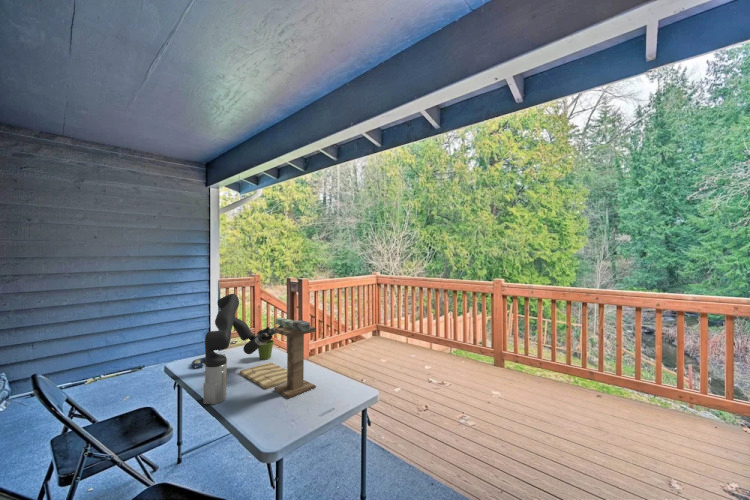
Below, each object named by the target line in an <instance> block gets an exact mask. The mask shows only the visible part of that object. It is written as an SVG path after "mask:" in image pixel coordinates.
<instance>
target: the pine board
mask: <svg viewBox="0 0 750 500" xmlns="http://www.w3.org/2000/svg"><path fill="white" fill-rule="evenodd" d="M239 374H240V375H242V376H244V377H245V378H246V379H249V380H250V381H251V382H254V383H255V384H257V385H259V386H260V387H262V388H264V389H265V390H269V389H271V388H274V387H277V386H280V385H283V384H286V383H287V368H284V367H283V366H280V365H277V364H276V363H273V362H271V361H270V362H267V363H264V364H260V365H257V366H253V367H248V368H246V369H243V370H239Z"/></svg>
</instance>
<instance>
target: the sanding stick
mask: <svg viewBox="0 0 750 500" xmlns="http://www.w3.org/2000/svg"><path fill="white" fill-rule="evenodd" d="M275 325H277V326H280V325H281V326H284V327H288V328H291V329H293V330H297V331H300V332H304V331H308V330H310V326H311V322H309V321H305V320H293V319H290V318H285V317H279V318H275Z"/></svg>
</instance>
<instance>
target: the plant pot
mask: <svg viewBox="0 0 750 500" xmlns="http://www.w3.org/2000/svg"><path fill="white" fill-rule="evenodd" d="M274 343H275V340H274V339H271V340H269V341H268V342H267V343H265V344H263V345H262V346H261V347H259V348H258V349H257V351H258V355H259V360H261V361H262V360H263V361H265V360H269V359H271V358H272V352H273V347H274Z"/></svg>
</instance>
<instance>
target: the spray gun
mask: <svg viewBox="0 0 750 500" xmlns="http://www.w3.org/2000/svg"><path fill="white" fill-rule="evenodd" d="M219 354H220V355H223V356H225V357H226V354H224V353H223V354H222V353H219ZM191 364H192V365H191V367H192V369H200V368H203V366H204V367H205V357H201V358H197V359H194V360H192V361H191Z"/></svg>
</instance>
